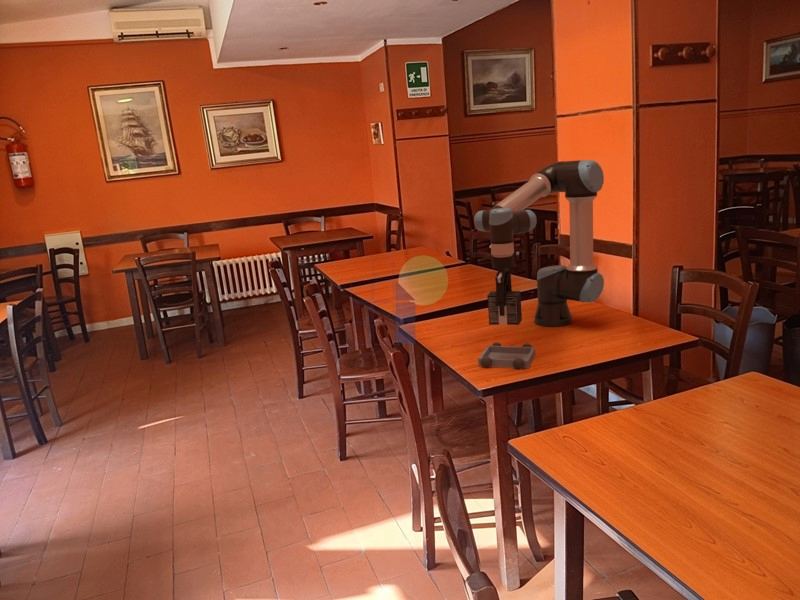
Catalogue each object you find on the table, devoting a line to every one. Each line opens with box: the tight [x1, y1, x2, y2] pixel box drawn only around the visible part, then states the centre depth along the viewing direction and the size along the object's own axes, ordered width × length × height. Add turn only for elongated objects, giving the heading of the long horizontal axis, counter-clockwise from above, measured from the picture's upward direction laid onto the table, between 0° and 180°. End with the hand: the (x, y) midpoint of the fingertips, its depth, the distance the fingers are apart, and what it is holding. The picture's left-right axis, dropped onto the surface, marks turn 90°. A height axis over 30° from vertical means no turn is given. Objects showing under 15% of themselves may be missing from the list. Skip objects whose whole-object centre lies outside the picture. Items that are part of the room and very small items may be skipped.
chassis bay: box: [477, 341, 536, 371], centre depth 209 cm, size 17×17×4 cm
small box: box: [486, 290, 523, 326], centre depth 205 cm, size 11×6×10 cm, turn 70°
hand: (505, 321), depth 206 cm, fingers closed on small box, 6 cm apart
